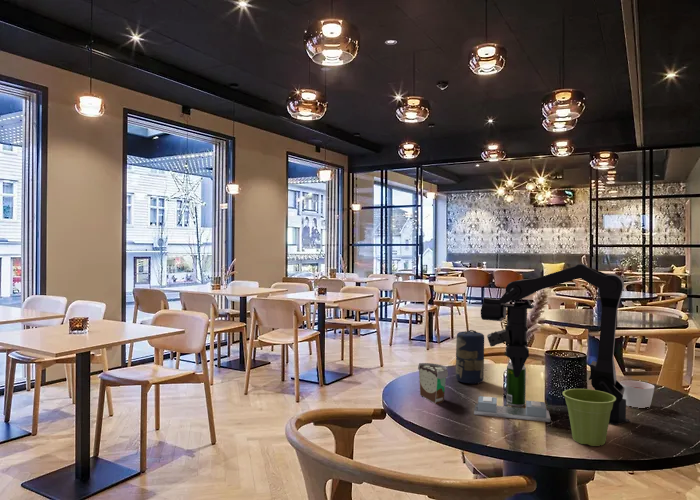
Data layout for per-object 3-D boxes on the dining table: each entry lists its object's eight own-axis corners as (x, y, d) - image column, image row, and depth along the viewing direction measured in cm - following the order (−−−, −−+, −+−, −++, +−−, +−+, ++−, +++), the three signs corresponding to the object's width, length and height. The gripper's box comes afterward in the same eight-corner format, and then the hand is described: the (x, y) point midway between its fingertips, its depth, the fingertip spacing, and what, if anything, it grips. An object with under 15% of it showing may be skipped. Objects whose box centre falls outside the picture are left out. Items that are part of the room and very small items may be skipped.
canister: (450, 379, 182) (451, 328, 182) (474, 377, 185) (475, 327, 185) (464, 386, 173) (465, 332, 173) (489, 384, 176) (489, 331, 175)
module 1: (496, 406, 148) (496, 396, 148) (496, 412, 143) (496, 402, 143) (478, 404, 150) (478, 395, 150) (477, 410, 144) (477, 401, 144)
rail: (548, 414, 145) (548, 410, 145) (550, 422, 138) (550, 418, 138) (475, 406, 151) (475, 403, 151) (474, 414, 144) (474, 410, 144)
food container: (456, 403, 154) (456, 370, 154) (438, 405, 151) (438, 372, 151) (434, 392, 165) (434, 361, 165) (417, 394, 163) (418, 362, 163)
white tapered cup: (646, 412, 147) (647, 390, 147) (614, 404, 154) (614, 383, 154) (659, 406, 153) (659, 385, 153) (627, 399, 160) (627, 378, 160)
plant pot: (578, 428, 133) (578, 385, 133) (624, 443, 124) (625, 396, 124) (552, 438, 126) (552, 393, 126) (599, 454, 117) (600, 405, 117)
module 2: (544, 410, 145) (544, 401, 145) (546, 417, 139) (546, 407, 139) (525, 408, 146) (526, 399, 146) (526, 415, 140) (526, 405, 140)
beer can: (517, 408, 150) (517, 367, 150) (502, 403, 154) (503, 363, 154) (529, 405, 153) (529, 364, 153) (514, 400, 157) (514, 361, 157)
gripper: (489, 317, 165) (489, 365, 165) (488, 325, 147) (487, 380, 147) (526, 318, 161) (525, 368, 161) (529, 328, 143) (528, 383, 144)
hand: (516, 374), depth 153 cm, fingers closed on beer can, 5 cm apart
